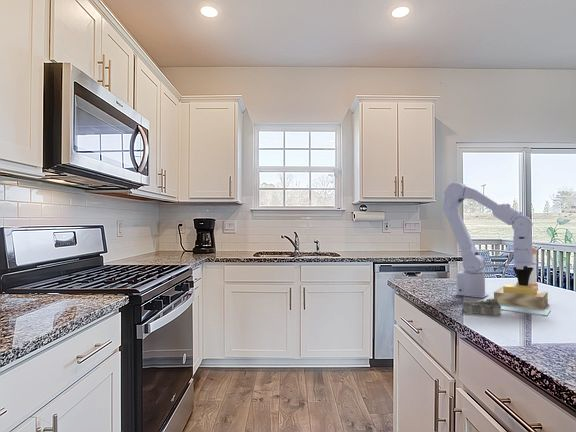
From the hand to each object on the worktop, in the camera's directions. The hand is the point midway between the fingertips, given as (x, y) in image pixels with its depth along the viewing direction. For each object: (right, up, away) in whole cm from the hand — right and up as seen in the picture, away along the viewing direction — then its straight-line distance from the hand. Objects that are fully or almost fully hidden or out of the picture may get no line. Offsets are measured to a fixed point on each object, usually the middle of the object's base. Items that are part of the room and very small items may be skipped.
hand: (523, 287), depth 132 cm
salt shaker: (+12, -5, +17) cm, 22 cm away
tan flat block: (-4, -5, -4) cm, 7 cm away
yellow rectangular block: (-4, -1, -5) cm, 7 cm away
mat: (-10, -5, -12) cm, 17 cm away
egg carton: (-23, -5, -15) cm, 28 cm away
